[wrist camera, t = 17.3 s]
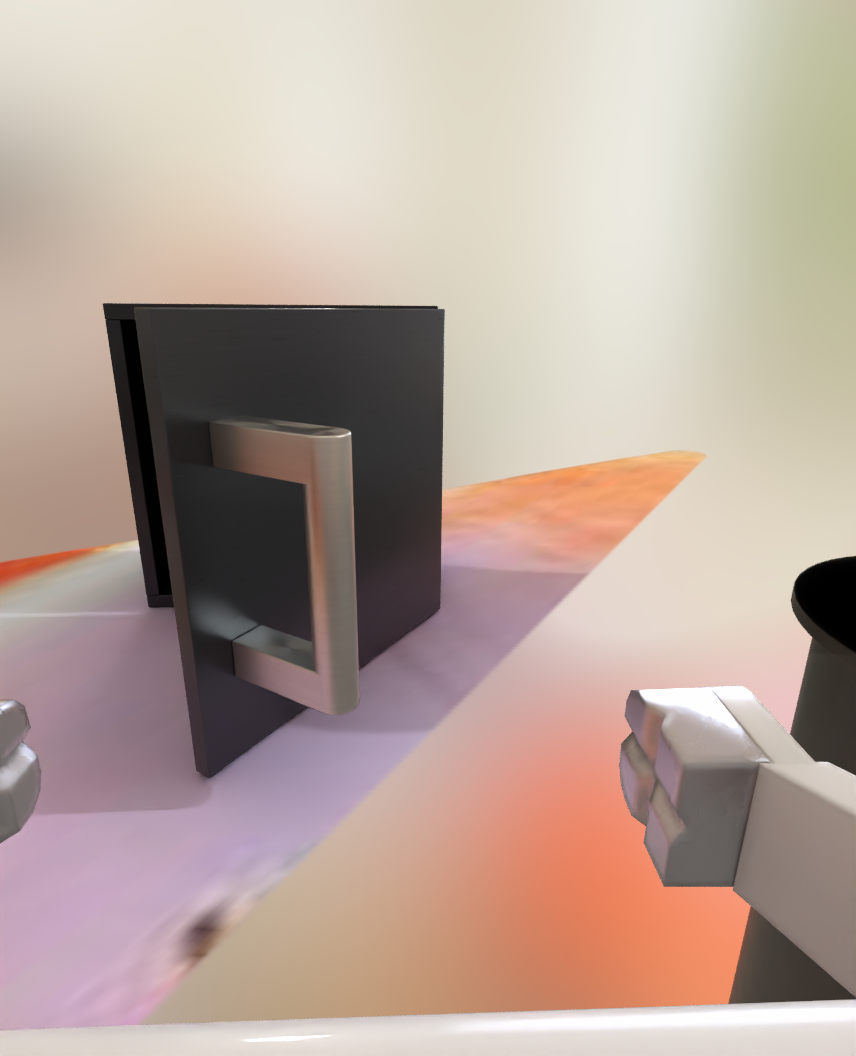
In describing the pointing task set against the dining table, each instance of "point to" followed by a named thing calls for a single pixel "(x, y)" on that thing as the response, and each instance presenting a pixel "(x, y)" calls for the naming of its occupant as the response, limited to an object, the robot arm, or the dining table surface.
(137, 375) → the black box
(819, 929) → the robot arm
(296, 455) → the machine door
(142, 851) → the dining table surface
